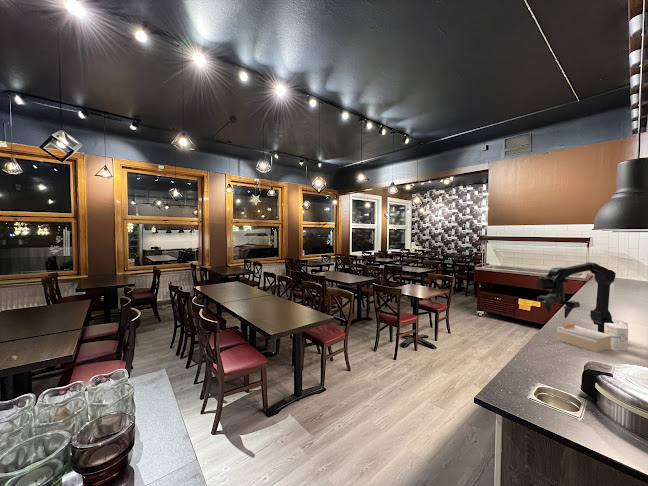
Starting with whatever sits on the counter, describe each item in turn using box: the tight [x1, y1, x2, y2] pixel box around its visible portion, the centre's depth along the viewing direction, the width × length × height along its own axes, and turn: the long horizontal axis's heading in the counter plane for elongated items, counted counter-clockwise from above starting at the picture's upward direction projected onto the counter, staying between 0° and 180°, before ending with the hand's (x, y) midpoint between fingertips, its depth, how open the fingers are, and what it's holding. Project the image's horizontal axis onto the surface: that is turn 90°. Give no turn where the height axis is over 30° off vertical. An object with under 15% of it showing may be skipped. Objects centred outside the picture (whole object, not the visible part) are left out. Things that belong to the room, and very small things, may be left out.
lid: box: [556, 322, 612, 343], centre depth 145 cm, size 14×17×4 cm
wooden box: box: [557, 331, 612, 353], centre depth 145 cm, size 12×17×6 cm
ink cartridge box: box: [604, 317, 629, 352], centre depth 140 cm, size 9×5×15 cm, turn 168°
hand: (557, 315), depth 156 cm, fingers open, 8 cm apart
